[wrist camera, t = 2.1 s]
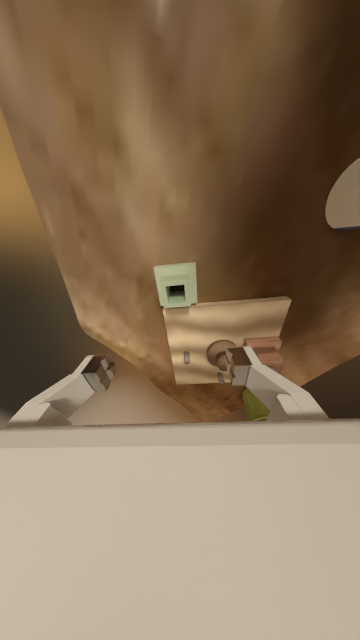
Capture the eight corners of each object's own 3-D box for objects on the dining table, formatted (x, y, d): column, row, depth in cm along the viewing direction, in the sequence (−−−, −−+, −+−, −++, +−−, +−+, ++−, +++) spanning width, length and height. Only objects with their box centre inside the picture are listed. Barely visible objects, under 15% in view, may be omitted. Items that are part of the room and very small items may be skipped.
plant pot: (238, 402, 43) (250, 437, 36) (232, 385, 39) (243, 421, 31) (270, 396, 41) (290, 432, 34) (268, 377, 37) (289, 414, 29)
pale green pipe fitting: (155, 266, 23) (148, 273, 18) (195, 261, 22) (197, 268, 18) (161, 302, 26) (157, 315, 22) (196, 299, 26) (199, 312, 21)
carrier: (163, 306, 26) (157, 326, 20) (286, 296, 25) (317, 315, 19) (176, 379, 38) (175, 406, 32) (260, 375, 36) (275, 403, 30)
